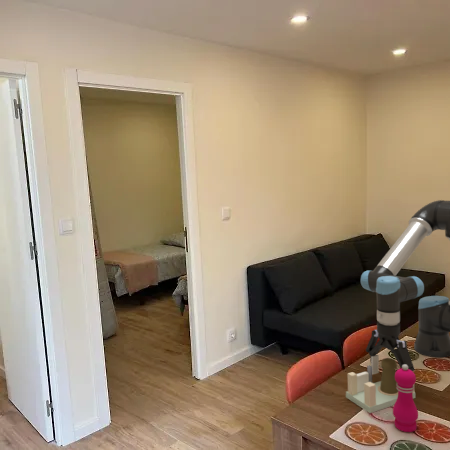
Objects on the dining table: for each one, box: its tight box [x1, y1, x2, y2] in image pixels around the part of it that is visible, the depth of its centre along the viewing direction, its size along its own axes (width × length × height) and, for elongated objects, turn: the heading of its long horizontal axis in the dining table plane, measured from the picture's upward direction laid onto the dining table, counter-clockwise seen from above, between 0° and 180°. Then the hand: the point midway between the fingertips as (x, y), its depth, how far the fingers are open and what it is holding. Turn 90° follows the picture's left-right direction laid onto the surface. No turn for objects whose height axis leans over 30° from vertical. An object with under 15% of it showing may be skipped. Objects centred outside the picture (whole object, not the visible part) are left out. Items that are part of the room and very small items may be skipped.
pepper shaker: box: [380, 357, 398, 394], centre depth 156 cm, size 6×6×11 cm
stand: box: [345, 364, 416, 414], centre depth 155 cm, size 20×12×10 cm, turn 114°
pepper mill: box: [392, 364, 419, 433], centre depth 137 cm, size 7×7×20 cm
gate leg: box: [347, 371, 369, 395], centre depth 156 cm, size 8×2×7 cm, turn 114°
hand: (389, 380), depth 156 cm, fingers open, 13 cm apart
